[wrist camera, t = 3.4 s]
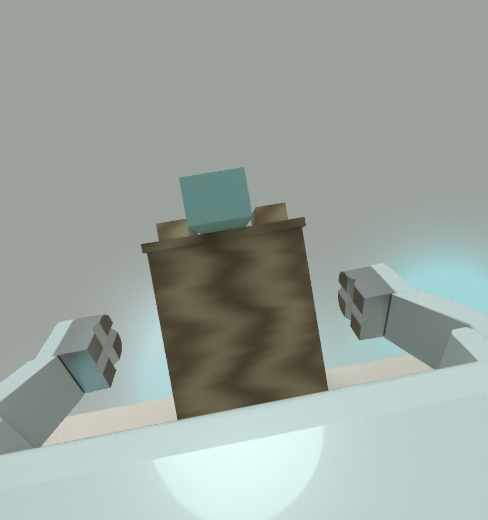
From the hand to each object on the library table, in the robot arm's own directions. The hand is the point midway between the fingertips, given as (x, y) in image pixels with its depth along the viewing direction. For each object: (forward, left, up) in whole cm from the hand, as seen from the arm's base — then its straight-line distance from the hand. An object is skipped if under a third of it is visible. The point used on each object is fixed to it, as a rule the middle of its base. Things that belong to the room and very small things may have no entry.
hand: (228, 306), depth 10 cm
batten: (0, +18, +4) cm, 18 cm away
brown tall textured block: (0, +23, -22) cm, 32 cm away
